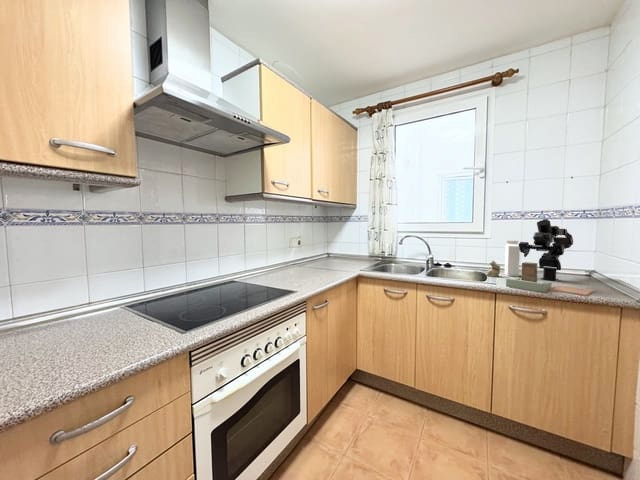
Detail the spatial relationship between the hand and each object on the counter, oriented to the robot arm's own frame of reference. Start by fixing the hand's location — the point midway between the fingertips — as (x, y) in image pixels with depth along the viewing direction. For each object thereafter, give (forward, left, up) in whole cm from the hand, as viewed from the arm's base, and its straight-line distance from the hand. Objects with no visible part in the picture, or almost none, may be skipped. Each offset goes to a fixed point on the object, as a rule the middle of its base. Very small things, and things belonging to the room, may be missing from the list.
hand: (534, 257), depth 140 cm
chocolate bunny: (-9, -24, -15) cm, 30 cm away
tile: (+1, +15, -15) cm, 21 cm away
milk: (-20, -18, -15) cm, 31 cm away
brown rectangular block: (+7, 0, -15) cm, 16 cm away
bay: (+7, 0, -15) cm, 16 cm away
